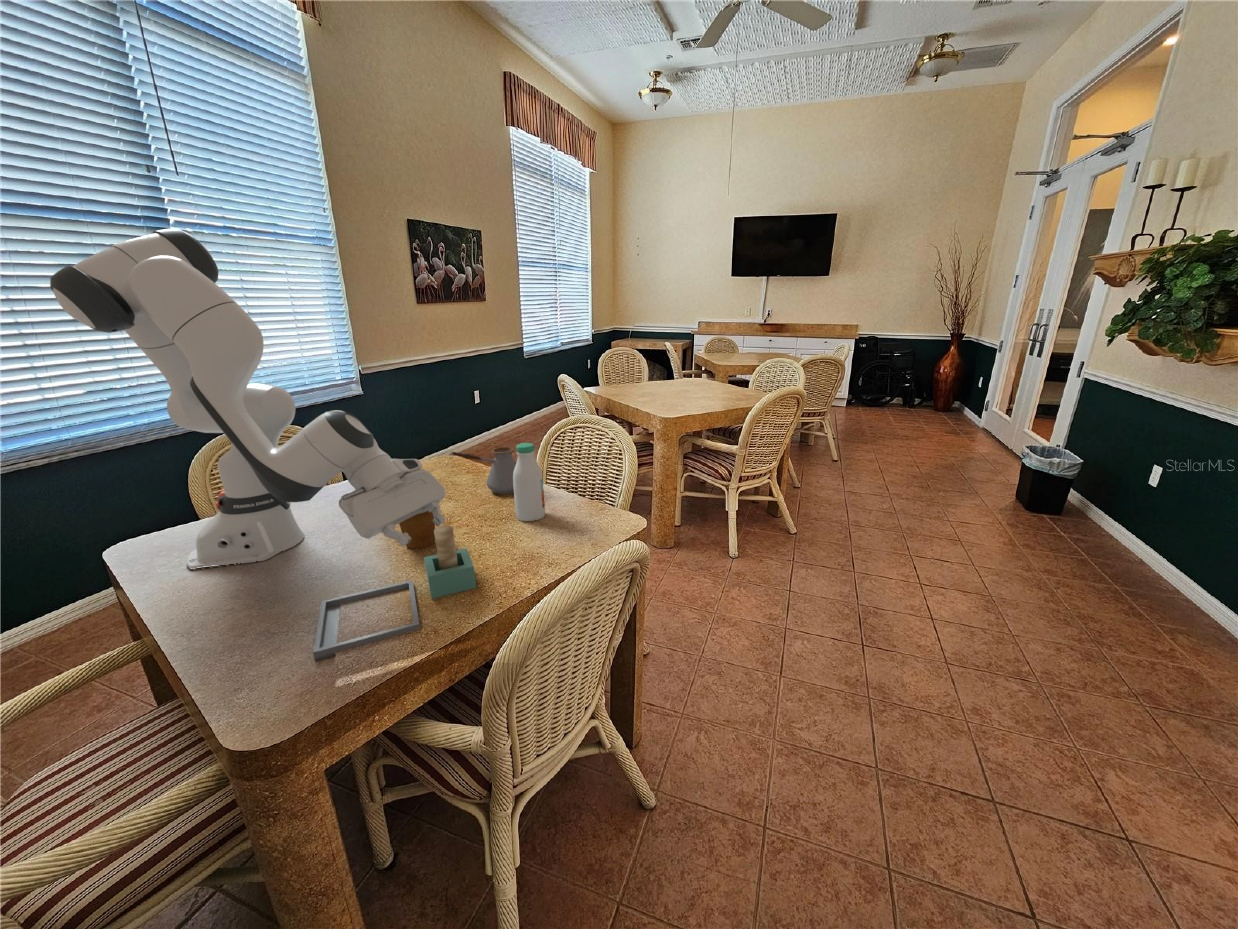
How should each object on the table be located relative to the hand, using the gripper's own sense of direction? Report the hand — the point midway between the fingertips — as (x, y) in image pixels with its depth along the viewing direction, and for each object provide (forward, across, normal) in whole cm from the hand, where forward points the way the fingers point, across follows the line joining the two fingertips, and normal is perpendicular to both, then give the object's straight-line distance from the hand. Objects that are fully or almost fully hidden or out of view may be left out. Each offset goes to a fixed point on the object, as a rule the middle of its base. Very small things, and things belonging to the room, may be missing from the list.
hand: (425, 532), depth 97 cm
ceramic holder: (+11, +1, +6) cm, 12 cm away
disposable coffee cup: (-2, +13, +19) cm, 23 cm away
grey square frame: (+7, -13, +10) cm, 18 cm away
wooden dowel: (+10, +1, +5) cm, 12 cm away
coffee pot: (-6, +47, +22) cm, 52 cm away
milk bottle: (+9, +36, +8) cm, 38 cm away
